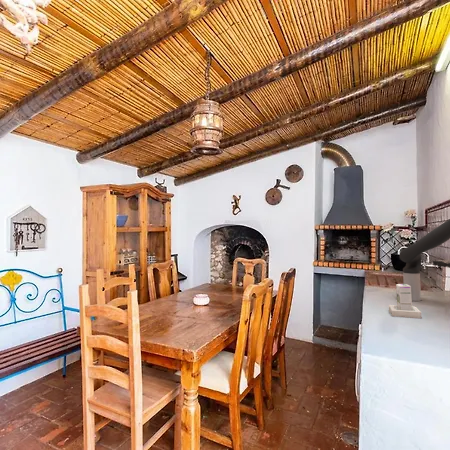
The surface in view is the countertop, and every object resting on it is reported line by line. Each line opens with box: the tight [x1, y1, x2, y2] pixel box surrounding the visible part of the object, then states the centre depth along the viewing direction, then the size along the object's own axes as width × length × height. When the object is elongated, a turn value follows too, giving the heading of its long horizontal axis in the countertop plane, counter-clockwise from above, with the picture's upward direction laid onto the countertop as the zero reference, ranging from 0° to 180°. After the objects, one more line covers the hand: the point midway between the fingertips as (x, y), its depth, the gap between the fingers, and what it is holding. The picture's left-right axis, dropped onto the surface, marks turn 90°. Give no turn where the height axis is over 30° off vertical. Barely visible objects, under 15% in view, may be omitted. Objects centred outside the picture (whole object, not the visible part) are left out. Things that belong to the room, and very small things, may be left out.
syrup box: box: [395, 283, 413, 311], centre depth 159 cm, size 6×6×14 cm
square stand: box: [388, 304, 423, 319], centre depth 159 cm, size 13×13×3 cm
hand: (435, 263), depth 160 cm, fingers open, 8 cm apart
